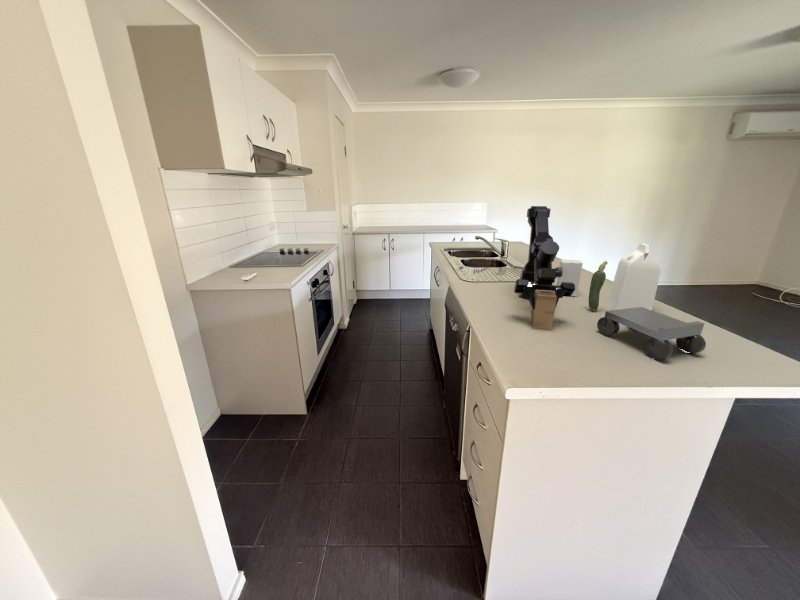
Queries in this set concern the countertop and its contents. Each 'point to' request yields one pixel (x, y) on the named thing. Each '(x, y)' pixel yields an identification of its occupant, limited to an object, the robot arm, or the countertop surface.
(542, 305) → the block
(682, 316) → the countertop surface
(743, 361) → the countertop surface
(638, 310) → the trolley
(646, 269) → the milk
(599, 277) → the vegetable
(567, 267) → the skincare box
